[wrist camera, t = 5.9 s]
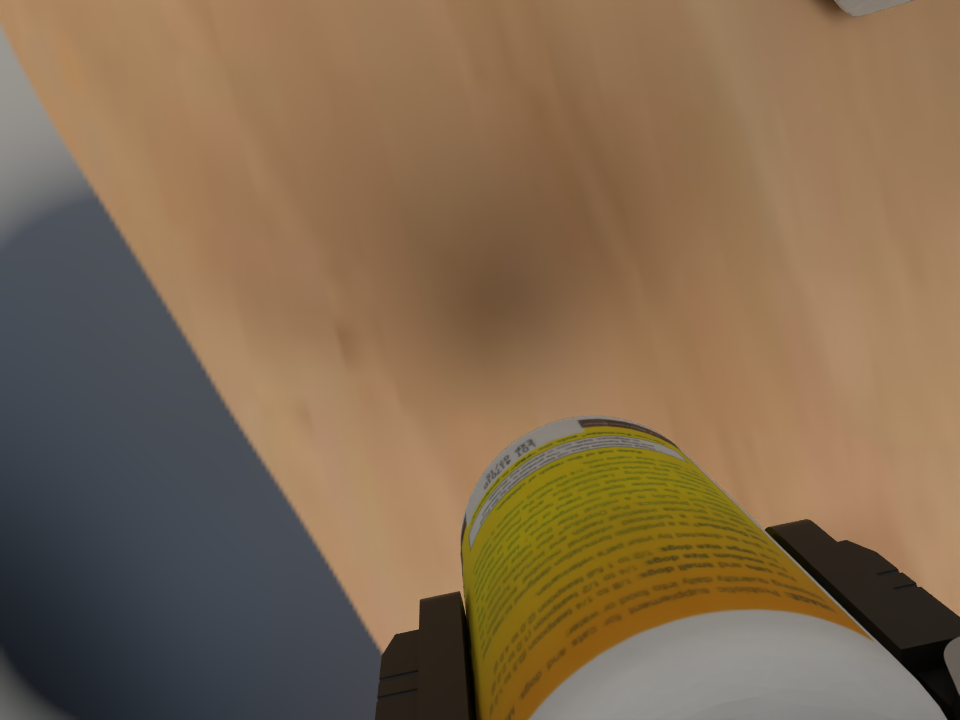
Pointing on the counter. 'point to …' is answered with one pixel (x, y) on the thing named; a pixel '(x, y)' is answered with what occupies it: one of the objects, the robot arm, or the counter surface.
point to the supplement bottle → (650, 595)
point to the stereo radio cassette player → (867, 6)
